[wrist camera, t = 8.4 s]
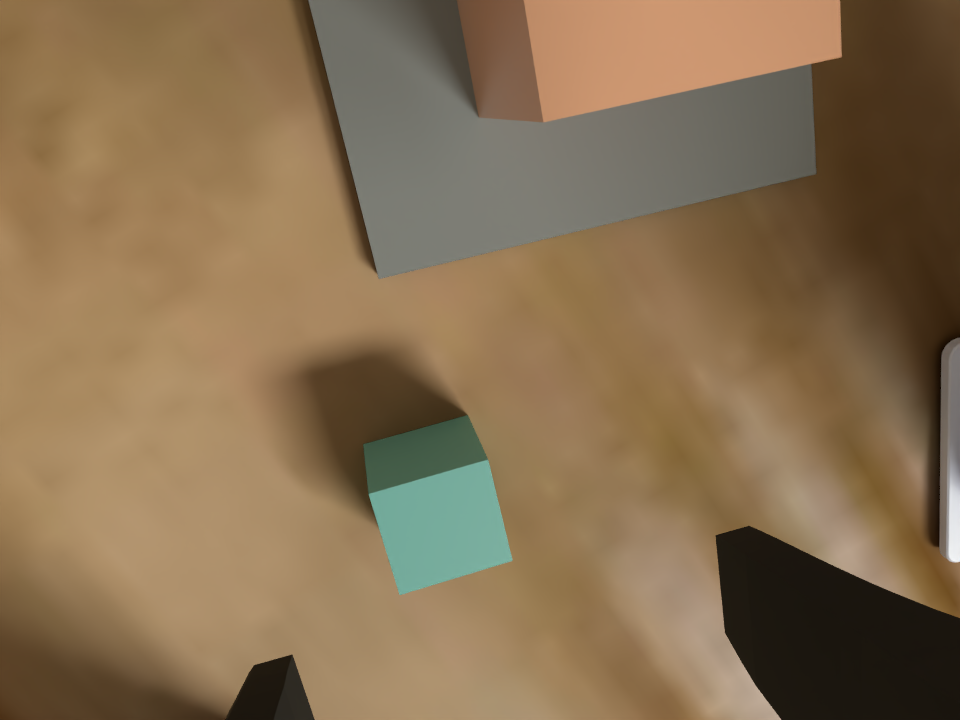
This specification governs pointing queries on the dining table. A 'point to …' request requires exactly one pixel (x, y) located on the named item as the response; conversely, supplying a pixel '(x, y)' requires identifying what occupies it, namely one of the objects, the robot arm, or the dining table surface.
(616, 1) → the terracotta cover
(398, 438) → the teal cube
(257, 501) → the dining table surface
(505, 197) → the slate mat
